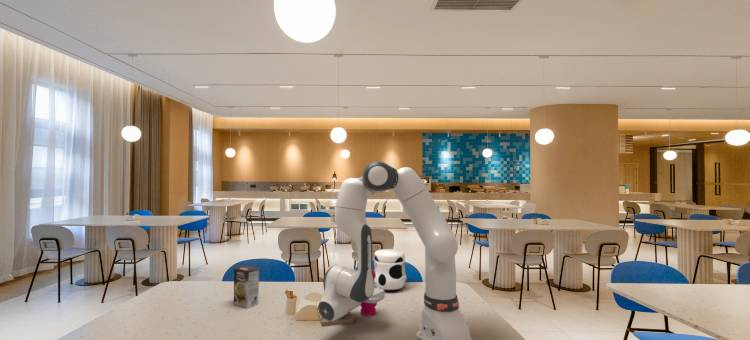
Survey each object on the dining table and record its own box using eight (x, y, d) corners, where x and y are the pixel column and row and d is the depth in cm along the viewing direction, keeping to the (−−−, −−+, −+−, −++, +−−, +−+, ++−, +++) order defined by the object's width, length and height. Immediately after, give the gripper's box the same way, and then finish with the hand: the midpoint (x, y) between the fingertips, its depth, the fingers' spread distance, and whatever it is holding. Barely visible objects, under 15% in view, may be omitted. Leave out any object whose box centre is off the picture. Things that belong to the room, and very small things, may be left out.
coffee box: (232, 304, 147) (233, 268, 147) (244, 300, 153) (245, 264, 153) (247, 308, 143) (247, 271, 143) (259, 303, 148) (259, 267, 149)
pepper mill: (375, 317, 135) (375, 267, 135) (357, 316, 136) (357, 266, 136) (378, 310, 142) (378, 263, 142) (361, 308, 143) (362, 262, 143)
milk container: (368, 283, 176) (368, 249, 176) (399, 280, 181) (399, 247, 181) (378, 295, 159) (378, 257, 160) (411, 291, 164) (412, 255, 165)
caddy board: (352, 322, 130) (352, 312, 130) (321, 326, 127) (322, 315, 127) (343, 303, 149) (343, 294, 149) (316, 306, 146) (316, 296, 146)
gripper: (374, 293, 123) (391, 282, 135) (330, 284, 133) (349, 274, 145) (374, 310, 122) (391, 298, 134) (329, 300, 132) (349, 289, 145)
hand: (369, 286), depth 140 cm, fingers open, 8 cm apart
